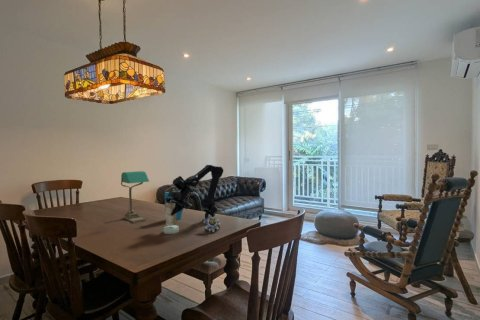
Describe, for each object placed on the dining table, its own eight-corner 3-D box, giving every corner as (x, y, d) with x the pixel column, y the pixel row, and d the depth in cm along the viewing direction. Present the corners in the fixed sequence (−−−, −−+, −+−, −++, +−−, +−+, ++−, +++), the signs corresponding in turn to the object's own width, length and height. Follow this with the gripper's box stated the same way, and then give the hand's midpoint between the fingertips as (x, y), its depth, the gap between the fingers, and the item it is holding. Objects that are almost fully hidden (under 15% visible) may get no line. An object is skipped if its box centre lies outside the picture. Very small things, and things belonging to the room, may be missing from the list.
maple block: (172, 223, 170) (171, 202, 169) (176, 224, 167) (176, 203, 166) (165, 224, 166) (165, 203, 165) (170, 226, 163) (169, 204, 162)
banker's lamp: (139, 215, 210) (138, 170, 208) (151, 220, 194) (150, 171, 193) (118, 218, 199) (117, 171, 197) (129, 224, 184) (127, 173, 182)
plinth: (181, 230, 170) (181, 225, 170) (174, 234, 161) (174, 229, 161) (168, 229, 172) (168, 224, 172) (161, 233, 163) (160, 228, 163)
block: (167, 221, 191) (166, 193, 190) (165, 219, 195) (164, 192, 194) (183, 218, 197) (182, 191, 196) (180, 217, 201) (180, 190, 200)
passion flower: (213, 240, 165) (204, 228, 159) (204, 233, 173) (195, 220, 167) (226, 228, 169) (218, 215, 163) (217, 221, 178) (209, 208, 172)
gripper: (166, 185, 174) (152, 204, 166) (185, 187, 162) (170, 209, 154) (177, 195, 181) (163, 214, 173) (195, 198, 169) (181, 219, 161)
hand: (169, 214), depth 165 cm, fingers closed on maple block, 4 cm apart
